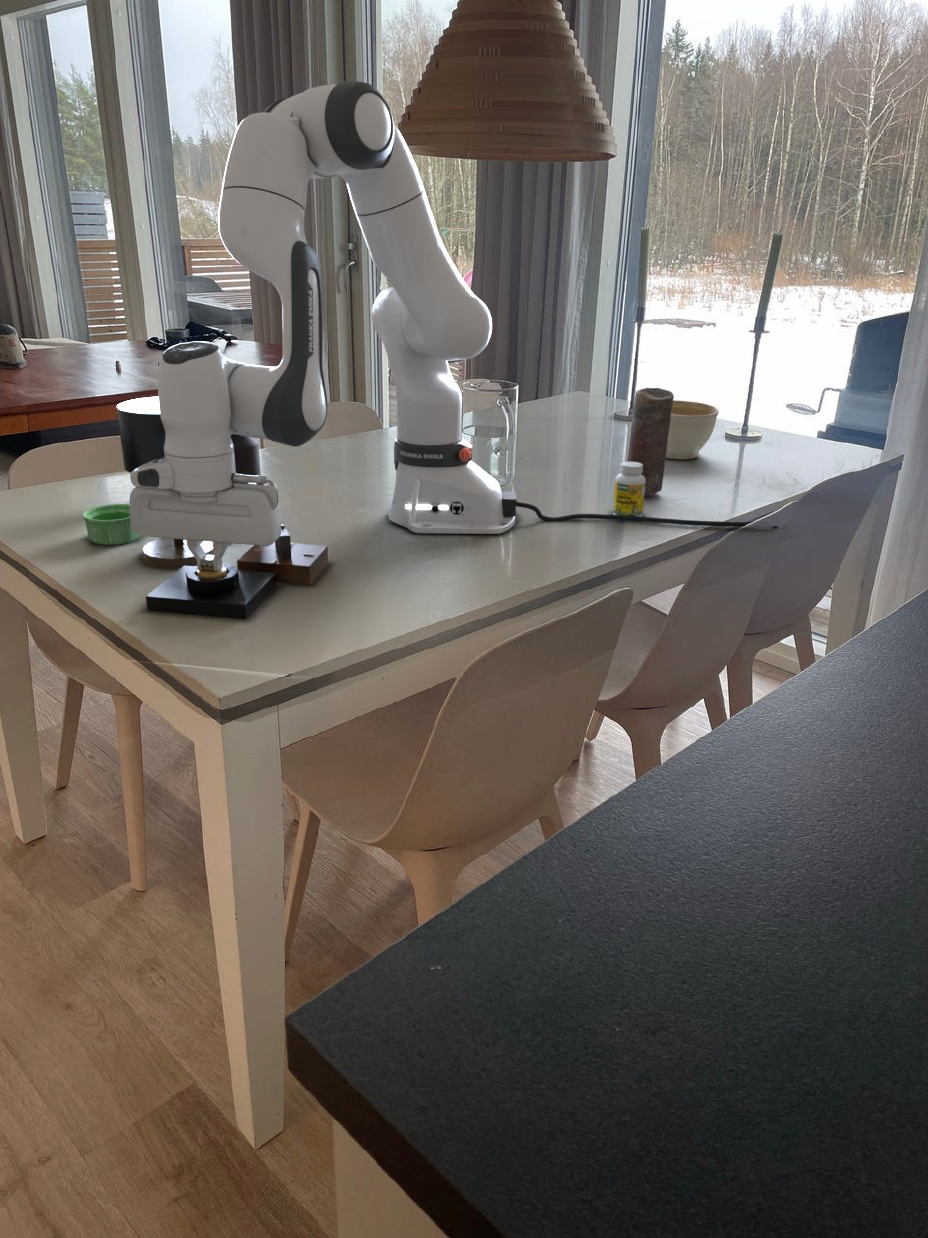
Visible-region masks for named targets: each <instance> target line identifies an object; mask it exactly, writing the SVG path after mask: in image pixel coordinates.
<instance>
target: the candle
mask: <svg viewBox="0 0 928 1238" xmlns="http://www.w3.org/2000/svg"><path fill="white" fill-rule="evenodd" d="M674 398H675V396H674V393H673V392H672V391H671V390H668V389H664V388H661V387H644V388H640V389H638V390H637V391H636V392H635V394H634V400H633V401H634V402H633V408H632V409H633V410H632V420H631V425H630V435H629V441H628V442H629V443H628V452H627V456H626V457H627V458H626V462H638V463H641V464H643V471H642V473H641V475H643V476H644V477H645V480H646V482H645V493H644V497H650V496H653V495H657V493H660V492H662V490H663V483H664V476H665V469H666V468H665V467H666V460H667V458H666V452H667V444H668V435H669V428H670V421H671V413H672V406H673V400H674Z"/></svg>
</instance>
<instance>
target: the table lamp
mask: <svg viewBox="0 0 928 1238" xmlns="http://www.w3.org/2000/svg"><path fill="white" fill-rule="evenodd" d="M115 408H116V414H117V421H118V423H117V424H118V430H119V431H118V432H119V437H120V438H119V439H120V446H121V453H122V461H123V468H124V471H126V472H127V473H130V474H131V472H132V471H133V470H135V469H136V468H138V467H140V466H142V465H144V464H146V463H148V462H150V461H153V460H156V459H159V458H163V457H165V455H164V444H165V436H166V434H165V429H164V426H163V423H162V421H161V417H160V409H159V398H158V396H150V397H140V398H135V399H130V400H126V401H125V400H124V401H123V402H120V403H118V404H117V405H116V407H115ZM200 545H201V546H202V548H203V550H204V552H205V553H206V555H211V556H214V555H215V553H216V551H217V549H214V548H213V543H212V542H209V541H203V543H201V544H200ZM141 553H142V560H143V562H144V563H146V565H148V566H151V567H154V568H159V569H181V568H182V567H183V566H197V559H196V558H195V557H194V556H193V554H192V553H191V551H190V550H189V549H188V547H187V540H183V539H171V538H157V539H154V540H151V541H149V542H148V543H146V544H144V545H143V546H142V548H141Z"/></svg>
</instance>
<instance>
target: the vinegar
mask: <svg viewBox="0 0 928 1238" xmlns="http://www.w3.org/2000/svg"><path fill="white" fill-rule="evenodd" d="M230 437H231V440H232V442H233V446H234V457H235V470H236V474H245V475H250V476H258V475H260V476H262V472H261V457H260V444H259V441H258V440H257V438H253V437H245V436H241V435H236V434H232V435H231V436H230Z"/></svg>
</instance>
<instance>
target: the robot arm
mask: <svg viewBox="0 0 928 1238" xmlns="http://www.w3.org/2000/svg"><path fill="white" fill-rule="evenodd" d="M338 175H339V176H340V177H341V178H342V179H343V180H344V182H345V184H346V186H347V190H348V194H349V198H350V201H351V204H352V207H353V210H354V214H355V216H356V220H357V221H358V224H359V227H360V229H361V232H362V235H363V238H364V241H365V244H366V247H367V249H368V252H369V256H370V258H371V260H372V262H373V264H374V266H375V267H376V268H377V270H378V271H379V272H380V273H381V274H383V276H384V277H385V278H386V279H387V281H388V282H389V283H390V285H391V286H390V287H387V288H385V289H384V290H382V291H381V292H380V293H379V294H378V295H377V297H376V298H375V300H374V303H373V305H372V309H371V321H372V326H373V328H374V330H375V332H376V334H377V335H378V337H379V338H380V340H381V341H382V344H383V346H384V349H385V353H386V355H387V361H388V363H389V367H390V371H391V375H392V379H393V384H394V391H395V401H396V403H395V404H396V406H395V407H396V437H395V438H394V444H393V464H394V470H395V480H394V481H395V482H394V490H393V496H392V499H391V505H390V509H389V511H388V519H389V520H390V521H391V522H392V523H394V524H396V525H399V526H402V527H404V528H406V529H408V530H409V531H410V532H412V533H415V534H455V535H456V534H457V535H458V534H459V535H460V534H463V535H464V534H465V535H468V534H471V535H472V534H473V535H499V534H503V533H505V532H507V531H509V530H510V529H512V528H513V527H514V525H515V523H516V514H517V508H523V509H528V510H532V511H533V512H535V514H536V516H537V518H538V519H540V520H541V521H545V522H564V521H570V520H577V519H579V520H580V519H587V520H588V519H590V520H591V519H594V520H613V521H614V520H615V521H630V522H631V521H632V522H643V523H655V524H668V525H670V524H671V525H683V526H684V525H685V526H705V527H746V526H745V525H746V524H748V523H751V522H753V521H755V520H757V519H758V518H757V519H752V520H747V521H726V520H725V521H724V520H723V521H721V520H720V521H717V520H695V519H681V518H680V519H678V518H665V517H664V518H663V517H652V516H642V517H639V516H625V515H613V514H607V513H605V514H604V513H573V514H566V515H562V516H548V515H545V514H542V511H541V510H540V508H539V507H538V506H536V505H534V504H531V503H527V502H521V501H517V496H516V492H515V491H502V489H501V486H500V483H499V482H498V480H496V478H494V477H493V476H491V475H490V474H489V473H488V472H486V471H485V470H484V468H483V469H482V467H480V466H479V465H478V464H476V463H475V462H474V461H473V453H474V449H473V441H472V440H470V441H468V440H466V439H465V438H463V437H462V415H463V414H462V411H463V410H462V409H463V396H462V392H461V389H460V387H459V385H458V384H457V383H456V381H455V380H454V377H453V375H452V372H451V369H450V366H449V362H454V361H455V362H456V361H464V360H470V359H473V358H475V357H477V356H478V355H480V354H481V353H482V352H483V351H484V349H486V347H487V346H488V343H489V342H490V338H491V336H492V330H493V322H492V316H491V312H490V309H488V306H487V305H486V304H485V303H484V302H483V300H481V299H480V298H479V297H478V296H477V295H476V294H474V292H473V291H472V289H470V287H469V286H468V284H467V283H466V281H465V280H464V279H463V277H462V275H461V273H460V272H459V270H458V268H457V267H456V265H455V264H454V262H453V259H452V258H451V257H450V255H449V252H448V251H447V249H446V247H445V244H444V243H443V240H442V239H441V236H440V234H439V230H438V227H437V225H436V221H435V219H434V215H433V212H432V210H431V206H430V203H429V200H428V196H427V193H426V190H425V187H424V184H423V181H422V178H421V175H420V173H419V170H418V166H417V164H416V162H415V160H414V158H413V155H412V153H411V150H410V149H409V147H408V144H407V142H406V140H405V138H404V137H403V135H402V132H401V131H400V130H399V128H398V127H397V126H396V125H395V123H394V118H393V114H392V111H391V108H390V106H389V104H388V102H387V100H386V99H385V97H384V96H383V94H382V93H381V92H380V91H379V89H377V88H376V87H375V86H373V85H372V84H371V83H368V82H365V81H359V80H344V81H341V82H339V83H334V84H325V85H318V86H314V87H310V88H308V89H306V90H304V91H303V92H300V93H297V94H294V95H292V96H290V97H288V98H281V99H279V100H276V101H274V102H273V103H270V105H268V107H266V108H265V109H264V110H263V111H262V112H256V113H252V114H249V115H248V116H246V117H245V118H243V119H242V120H241V122H240V123H239V124H238V126H237V129H236V131H235V134H234V136H233V140H232V142H231V146H230V150H229V152H228V156H227V161H226V165H225V169H224V174H223V179H222V180H223V181H222V187H221V194H220V201H219V207H218V220H217V221H218V233H219V237H220V240H221V242H222V244H223V246H224V248H225V249H226V251H227V252H228V254H229V255H230V256H231V257H232V259H234V260H235V261H236V262H237V263H238V264H239V265H241V267H244V268H245V269H247V270H248V271H250V272H252V273H253V274H255V275H256V276H259V277H261V278H262V279H265V280H266V281H267V282H269V283H270V284H272V286H274V288H275V289H276V291H277V293H278V295H279V297H280V301H281V322H282V323H281V325H282V326H281V327H282V328H281V329H282V332H281V333H282V335H281V338H282V339H281V340H282V358H281V361H280V363H279V365H277V366H268V365H257V364H251V363H245V362H240V361H238V360H235V359H232V358H230V357H228V356H226V355H225V354H224V353H222V350H221V348H220V347H219V346H218V345H217V344H216V343H214V342H210V341H201V340H200V341H198V340H197V341H190V342H181V343H178V344H175V345H172V346H170V347H168V348H167V349H165V350H164V351H163V352H162V354H161V355H160V358H159V362H158V370H157V395H158V396H157V397H158V398H159V409H160V417H161V421H162V423H163V426H164V429H165V434H166V436H165V444H164V455H165V457H163V458H159V459H156V460H153V461H150V462H148V463H146V464H144V465H142V466H140V467H138V468H136V469H135V470H133V471H132V472H131V473H130V475H129V477H130V481H131V484H132V485H133V486H134V487H133V488H132V489H131V491H130V494H129V505H130V520H131V526H132V529H133V530H134V531H135V533H136V534H137V535H138V536H140V537H145V538H146V537H148V538H157V539H160V538H171V539H183V540H187V547H188V549H189V550H190V551H191V553H192V554H193V556H194V557H195V558H196V559H197V567H198V570H201V571H202V570H203V571H214V572H219V571H220V570H221V569H222V567H223V565H222V564H223V557H224V555H225V553H226V551H227V549H228V548H229V546H230V544H235V545H236V544H237V545H248V546H254V545H259V546H270V545H271V544H273V543H274V542H275V541H276V540H277V539H278V538H279V536H280V535H281V524H282V523H281V517H280V512H279V511H280V510H279V508H278V505H279V489H278V485H276V484H275V483H274V482H273V480H270V479H268V477H267V476H264V475H261V476H260V475H258V476H250V475H245V474H236V470H235V457H234V446H233V442H232V440H231V437H230V436H231V435H232V434H236V435H241V436H245V437H253V438H255V439H261V440H267V441H271V442H274V443H278V444H283V445H285V446H290V447H301V446H303V445H304V444H306V443H308V442H309V441H311V440H312V439H313V438H314V437H315V436H317V434H318V433H319V432H320V431H321V430H322V429H323V427H324V425H325V424H326V422H327V418H328V417H327V416H328V396H327V390H326V384H325V383H326V382H325V377H324V351H323V350H324V348H323V347H324V346H323V345H324V342H323V341H324V338H323V334H324V333H323V332H324V331H323V329H324V328H323V326H324V325H323V286H322V272H321V265H320V261H319V260H320V259H319V257H318V255H317V252H316V251H315V250H314V249H313V248H312V247H311V246H310V245H309V244H308V241H307V237H306V231H305V214H306V208H307V198H308V185H309V182H310V180H320V179H329V178H334V177H337V176H338ZM203 541H209V542H212V543H213V548H214V549H216V553H215V555H214V556H211V555H206V553H205V552H204V550H203V548H202V546H201V545H200V544H201V543H203Z"/></svg>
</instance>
